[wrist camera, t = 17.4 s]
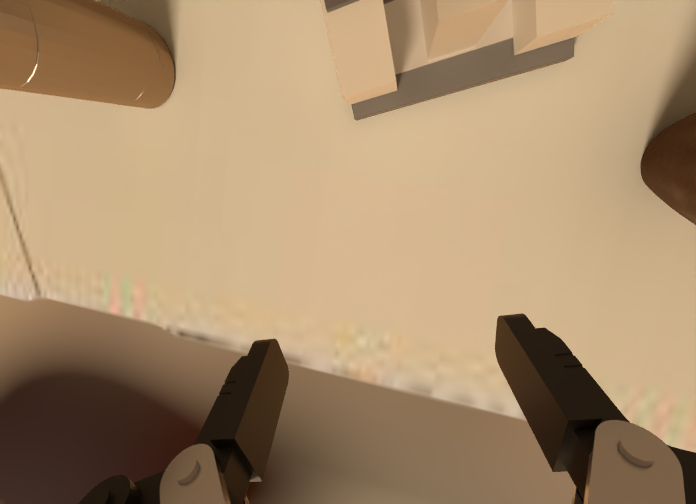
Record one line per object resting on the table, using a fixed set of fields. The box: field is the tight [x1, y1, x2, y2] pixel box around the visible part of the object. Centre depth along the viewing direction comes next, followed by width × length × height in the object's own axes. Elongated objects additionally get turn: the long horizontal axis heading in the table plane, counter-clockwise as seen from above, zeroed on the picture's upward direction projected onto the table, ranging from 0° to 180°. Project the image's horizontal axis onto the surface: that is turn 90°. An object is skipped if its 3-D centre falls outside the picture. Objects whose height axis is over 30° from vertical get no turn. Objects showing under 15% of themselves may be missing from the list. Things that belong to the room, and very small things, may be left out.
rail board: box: [320, 0, 613, 120], centre depth 25 cm, size 21×12×7 cm, turn 104°
